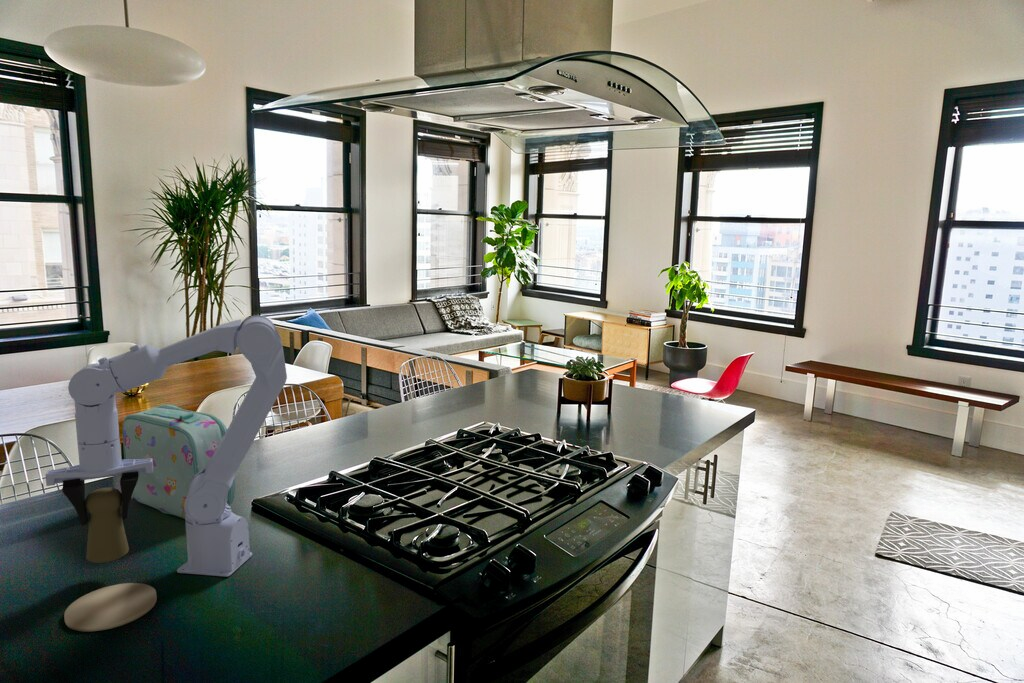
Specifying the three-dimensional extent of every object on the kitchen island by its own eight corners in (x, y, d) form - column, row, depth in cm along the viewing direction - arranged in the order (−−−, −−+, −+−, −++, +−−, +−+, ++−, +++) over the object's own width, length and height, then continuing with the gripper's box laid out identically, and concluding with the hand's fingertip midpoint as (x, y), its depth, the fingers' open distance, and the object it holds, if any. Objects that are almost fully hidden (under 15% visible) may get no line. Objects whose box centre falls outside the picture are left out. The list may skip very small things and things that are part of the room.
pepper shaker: (119, 540, 113) (114, 480, 111) (135, 552, 109) (131, 490, 107) (79, 553, 108) (74, 491, 106) (95, 566, 105) (90, 502, 102)
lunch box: (246, 511, 136) (241, 410, 133) (202, 530, 127) (195, 423, 124) (167, 486, 149) (160, 394, 146) (121, 502, 140) (113, 404, 137)
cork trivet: (173, 590, 106) (173, 586, 105) (120, 634, 94) (119, 629, 94) (105, 584, 107) (104, 580, 107) (44, 627, 95) (43, 622, 95)
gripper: (151, 427, 112) (156, 503, 114) (48, 438, 105) (55, 518, 108) (149, 439, 106) (155, 519, 108) (40, 450, 99) (48, 535, 101)
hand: (105, 520), depth 107 cm, fingers closed on pepper shaker, 5 cm apart
